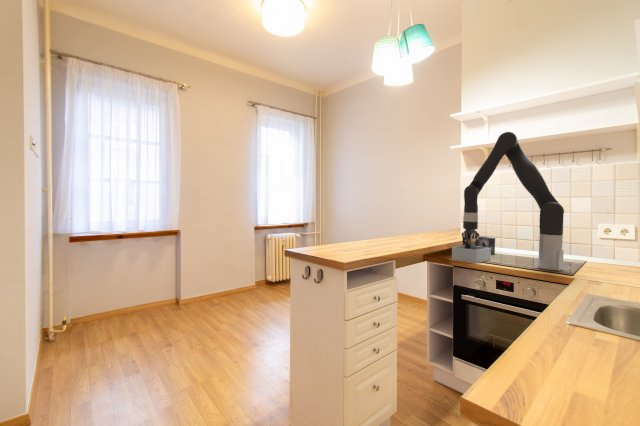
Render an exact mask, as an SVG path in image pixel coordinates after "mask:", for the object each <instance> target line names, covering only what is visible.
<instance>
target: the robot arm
mask: <svg viewBox="0 0 640 426" xmlns="http://www.w3.org/2000/svg"><path fill="white" fill-rule="evenodd" d="M504 156H505V157H506V158H507V159H508V160H509V162H510V165H511V167H512V169H513V171H514V173H515V175H516V176H517V179H518V180H519V182H520V184H521V185H522V186H523V187H524V188H525V190H526V191H527V192H528V193H529V194H530V195H531V196H532V197H533V199H534V200H535V202H536V204H537V205H538V208H539V227H538V228H539V239H538V241H539V242H538V260H537V261H538V263H537V267H538V268H540V269H542V270H548V271H556V272H557V271H558V272H559V271H562V270H563V269H564V249H563V239H564V237H563V236H564V215H565V209H564V207H563V205H562V204H561V203H560V202H558V200H557V199H556V198H555V197H554V195H553V194H552V192H551V191H550V188H549V187H548V185H547V183H546V181H545V179H544V177H543V175H542V174H541V172H540V171H539V168H537V166H536V165H535V164H534V162H532V160H531V159H530V158H529V157H528V156H527V155H526V154H525V152H524V151H523V149H522V148H521V145H520V143H519V139H518V136H517V135H516V133H514V132H511V131H505V132H503V133H501V134H500V135H499V136H498V138H497V140H496V142H495V144H494V147H492V150H491V152H490V153H489V155H488V156H487V158H486V160H484V162H483V164H482V165H481V167H480V168H479V169H478V171H477V172H476V173H475V175H474V177H473V180H472V181H471V182H470V184H469V185H468V186H466V187H465V188H464V190H463V201H464V206H463V217H462V218H463V219H462V221H463V222H462V228H463V229H464V231H465V233H464V232H461V237H462V244H463V243H465V244H466V246H465V249H470V240H471V239H476V241H477V236H478V233H479V232H477V233H476V232H475V231H476V230H478V228H479V215H478V214H479V205H478V196H479V194H480V192H481V191H482V189H483V187H484V186H485V184H486V183H487V182H488V181H489V180H490V178H491V177H492V175H493V174H494V172H495V170H496V169H497V167H498V165H499V163H500V162H501V160H502V159H503V158H504ZM478 237H479V236H478ZM468 238H469V239H468ZM468 240H469V241H468ZM476 241H475V242H476Z"/></svg>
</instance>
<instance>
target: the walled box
mask: <svg viewBox="0 0 640 426" xmlns="http://www.w3.org/2000/svg"><path fill="white" fill-rule="evenodd" d="M491 256H492V255H491V248H487V247H480V246H475V250H472V249H465V248H464V245H463V244H462V245H457V246H451V260H455V261H461V262H468V263H472V264H479V263H483V262H484V261H485V262H488V260H489V261H491ZM485 262H484V263H485Z"/></svg>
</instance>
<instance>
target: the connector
mask: <svg viewBox="0 0 640 426" xmlns="http://www.w3.org/2000/svg"><path fill="white" fill-rule="evenodd" d="M468 239H469V238H468ZM468 241H469V240H468ZM475 241H476V239H471V240H470V249H472V250H475ZM465 246H466V244H465V243H464V248H465Z"/></svg>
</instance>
